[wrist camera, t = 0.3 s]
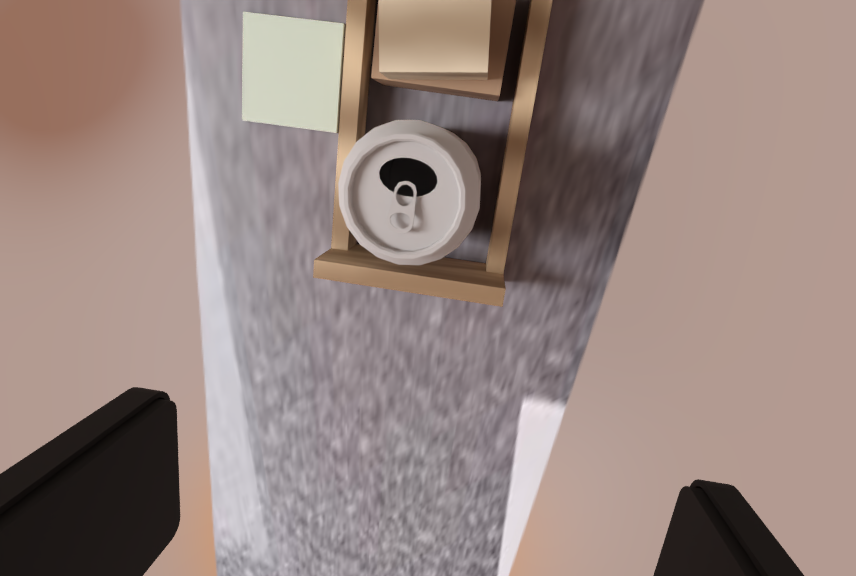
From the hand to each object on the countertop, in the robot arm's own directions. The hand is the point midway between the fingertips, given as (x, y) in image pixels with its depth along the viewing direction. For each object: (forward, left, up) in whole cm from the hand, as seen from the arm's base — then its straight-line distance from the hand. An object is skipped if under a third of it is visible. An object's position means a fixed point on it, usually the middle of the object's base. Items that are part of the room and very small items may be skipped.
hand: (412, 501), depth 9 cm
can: (-3, -3, -28) cm, 28 cm away
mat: (-9, -14, -28) cm, 32 cm away
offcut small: (-12, -3, -24) cm, 27 cm away
